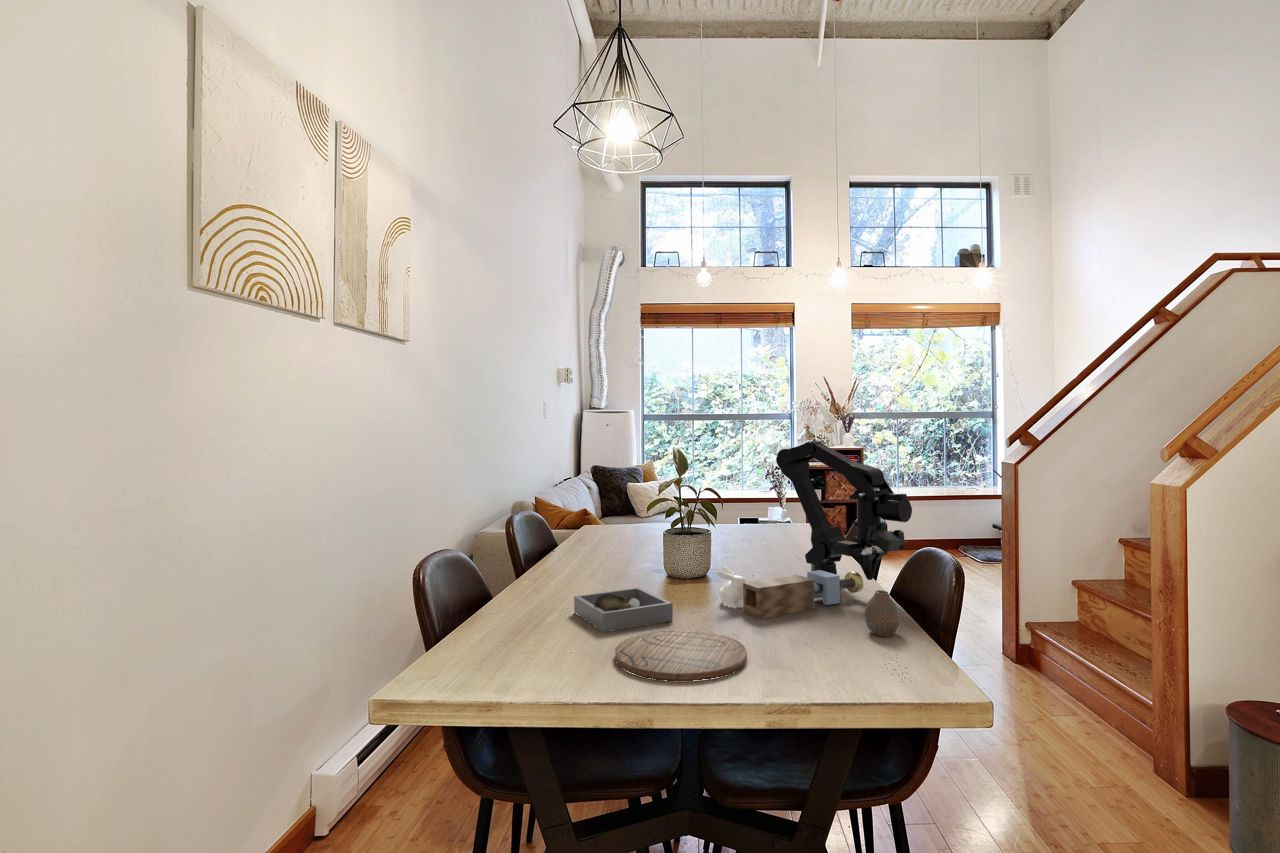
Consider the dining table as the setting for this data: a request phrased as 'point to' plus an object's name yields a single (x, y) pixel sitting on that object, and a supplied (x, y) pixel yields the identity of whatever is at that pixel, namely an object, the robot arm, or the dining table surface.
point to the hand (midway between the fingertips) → (869, 579)
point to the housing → (778, 596)
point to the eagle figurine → (615, 602)
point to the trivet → (680, 655)
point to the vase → (882, 614)
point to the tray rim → (624, 610)
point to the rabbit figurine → (731, 588)
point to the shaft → (845, 583)
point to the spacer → (826, 586)
